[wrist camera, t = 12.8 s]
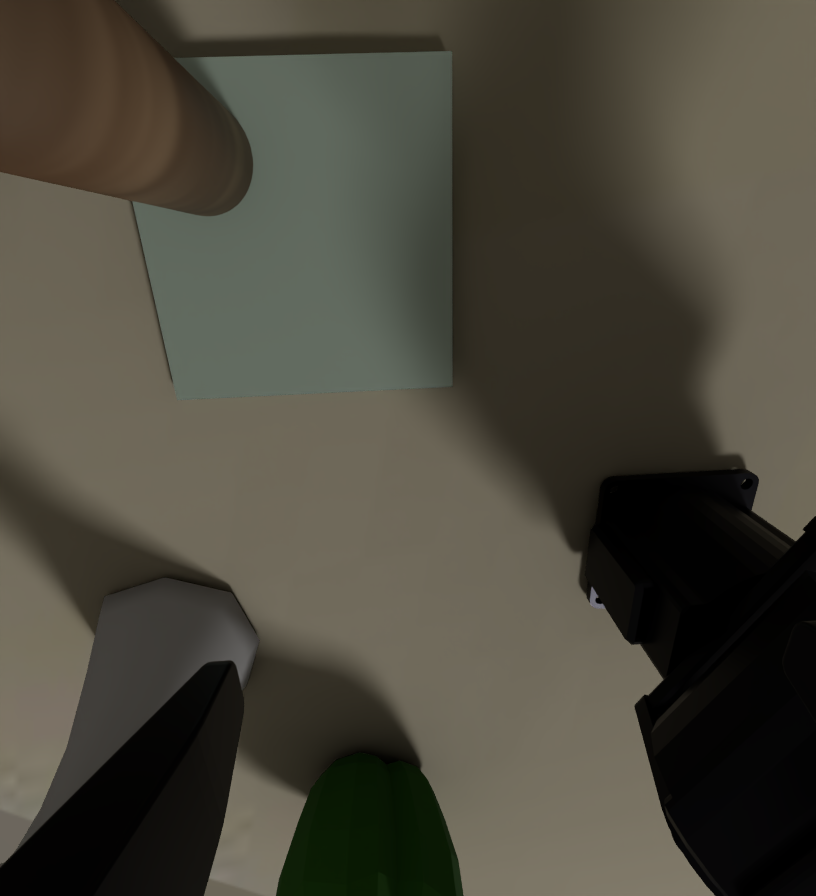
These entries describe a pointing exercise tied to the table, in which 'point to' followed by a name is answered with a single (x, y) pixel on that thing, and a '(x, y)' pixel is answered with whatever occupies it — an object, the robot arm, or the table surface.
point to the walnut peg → (112, 111)
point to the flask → (145, 669)
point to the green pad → (316, 232)
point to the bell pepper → (371, 835)
